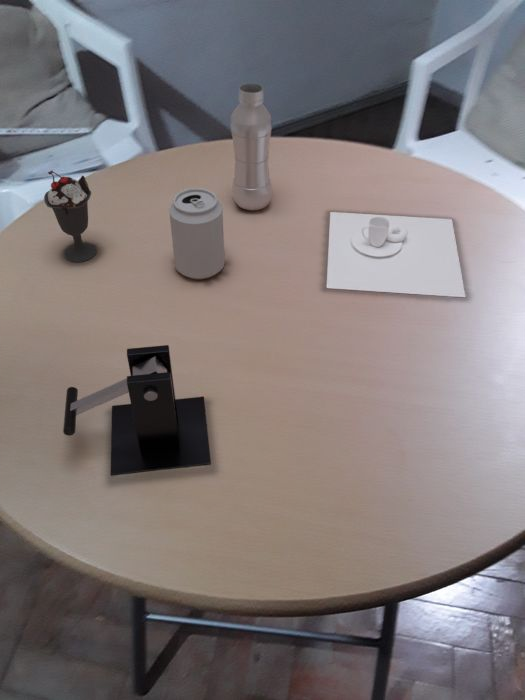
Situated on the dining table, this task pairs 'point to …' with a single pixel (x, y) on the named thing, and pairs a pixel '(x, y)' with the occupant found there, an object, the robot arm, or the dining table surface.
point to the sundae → (72, 214)
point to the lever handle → (103, 394)
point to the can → (197, 233)
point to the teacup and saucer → (393, 255)
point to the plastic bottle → (251, 148)
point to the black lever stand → (157, 422)
